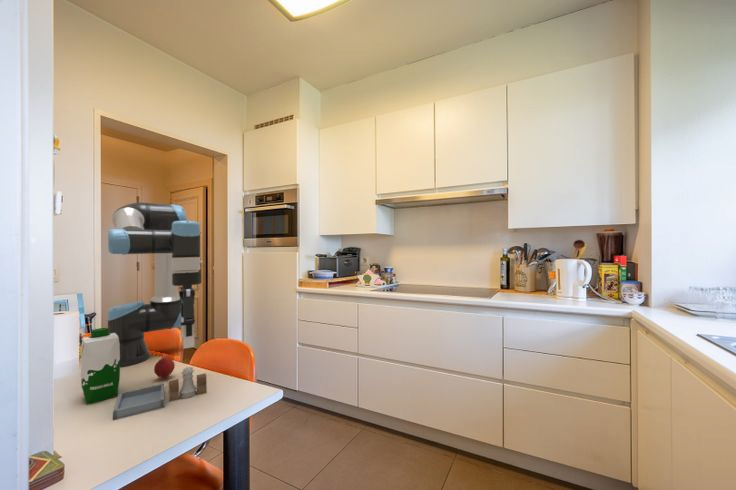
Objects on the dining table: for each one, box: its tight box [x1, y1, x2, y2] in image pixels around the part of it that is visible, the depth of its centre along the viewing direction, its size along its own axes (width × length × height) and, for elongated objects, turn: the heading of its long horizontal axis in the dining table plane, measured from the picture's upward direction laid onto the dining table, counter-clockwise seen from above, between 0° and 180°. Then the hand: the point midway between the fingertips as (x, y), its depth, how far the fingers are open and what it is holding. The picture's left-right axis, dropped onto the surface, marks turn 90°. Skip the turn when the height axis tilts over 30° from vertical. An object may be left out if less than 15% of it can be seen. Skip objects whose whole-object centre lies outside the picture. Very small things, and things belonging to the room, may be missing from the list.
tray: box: [112, 383, 165, 421], centre depth 88 cm, size 13×11×2 cm
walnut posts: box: [168, 373, 208, 403], centre depth 92 cm, size 3×10×5 cm, turn 123°
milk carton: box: [80, 327, 121, 405], centre depth 93 cm, size 9×9×20 cm
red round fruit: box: [153, 354, 176, 379], centre depth 106 cm, size 6×6×8 cm
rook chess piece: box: [179, 366, 197, 399], centre depth 92 cm, size 4×4×8 cm
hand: (187, 342), depth 92 cm, fingers open, 13 cm apart
